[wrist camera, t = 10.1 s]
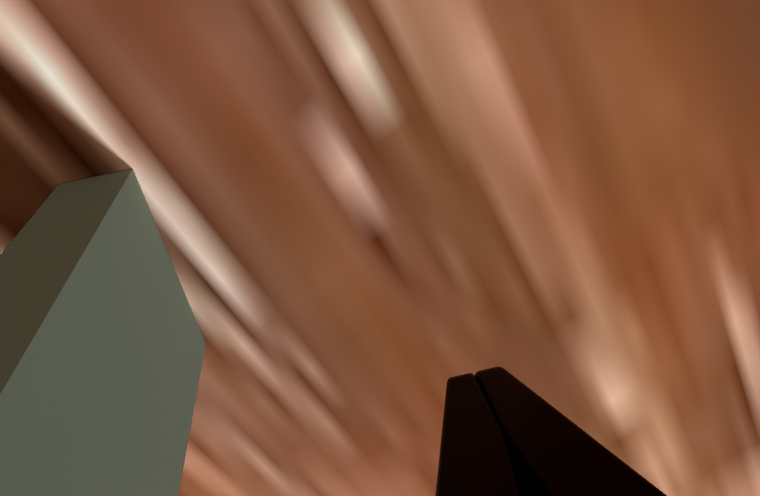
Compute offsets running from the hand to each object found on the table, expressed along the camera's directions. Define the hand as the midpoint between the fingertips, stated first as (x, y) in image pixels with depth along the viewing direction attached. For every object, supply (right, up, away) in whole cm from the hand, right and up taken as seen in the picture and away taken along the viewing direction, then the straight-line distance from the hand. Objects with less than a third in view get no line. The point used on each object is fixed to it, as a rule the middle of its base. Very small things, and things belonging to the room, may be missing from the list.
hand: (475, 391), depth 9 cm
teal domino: (-7, +2, +5) cm, 9 cm away
